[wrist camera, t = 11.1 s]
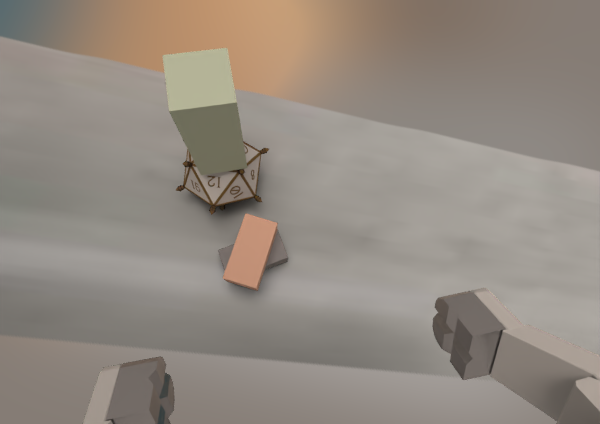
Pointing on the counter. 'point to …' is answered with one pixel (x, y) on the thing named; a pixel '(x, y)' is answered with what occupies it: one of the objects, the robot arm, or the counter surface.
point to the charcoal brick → (274, 259)
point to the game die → (224, 181)
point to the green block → (206, 109)
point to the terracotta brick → (251, 252)
